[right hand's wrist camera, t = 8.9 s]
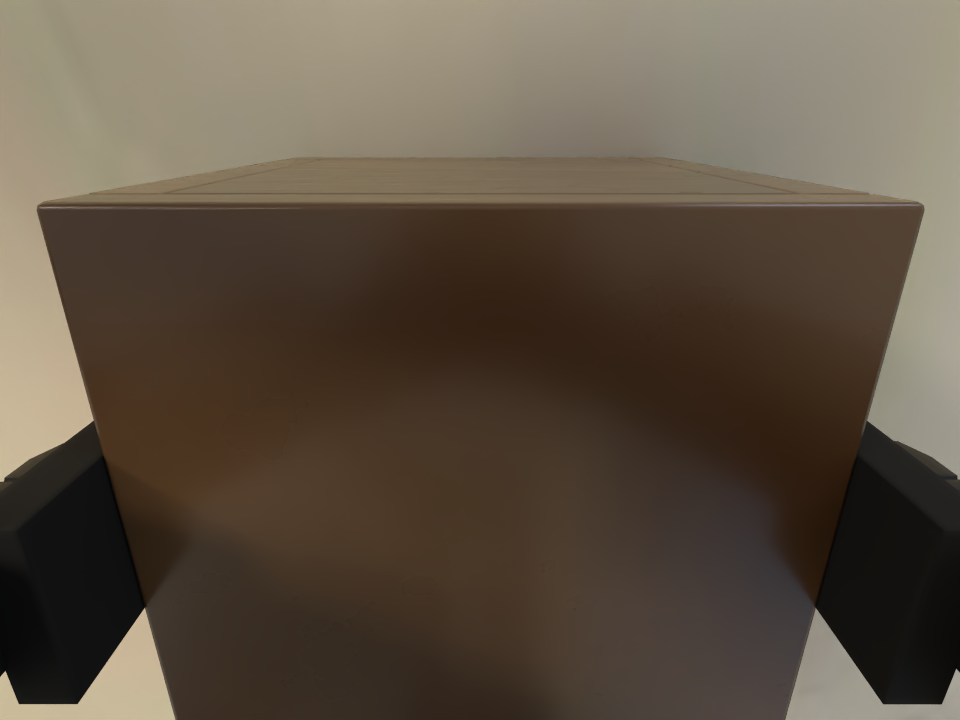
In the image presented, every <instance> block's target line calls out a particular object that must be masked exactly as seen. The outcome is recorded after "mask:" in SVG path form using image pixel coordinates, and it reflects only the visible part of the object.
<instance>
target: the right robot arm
mask: <svg viewBox="0 0 960 720" xmlns="http://www.w3.org/2000/svg"><path fill="white" fill-rule="evenodd" d="M4 479H5V480H4V482H0V676H1V675H2V674H3V673H4V672H5V671H6V673H7V675H8V678H9V680H10V683H11V685H12V688H13V690H14V693H15V695H16V698H17V700H18V703H19V704H78V703H79V701H80V700H81V698H82V697H83V695H84V694H85V693H86V691H87V690H88V688H89V687H90V685H91V684H92V683H93V681H94V680H95V678H96V677H97V675H98V674H99V672H100V671H101V670H102V668H103V667H104V665H105V664H106V662H107V661H108V660H109V658H110V657H111V655H112V654H113V652H114V651H115V650H116V648H117V647H118V645H119V644H120V642H121V641H122V640H123V638H124V637H125V635H126V634H127V632H128V631H129V629H130V628H131V627H132V625H133V624H134V622H135V621H136V619H137V618H138V617H139V615H140V614H141V612H142V611H143V609H144V608H145V606H144V602H143V598H142V595H141V591H140V587H139V584H138V580H137V576H136V573H135V569H134V565H133V562H132V558H131V554H130V551H129V547H128V543H127V540H126V536H125V532H124V529H123V525H122V521H121V518H120V514H119V510H118V507H117V503H116V499H115V496H114V492H113V488H112V485H111V481H110V477H109V474H108V470H107V466H106V463H105V459H104V455H103V452H102V448H101V444H100V441H99V437H98V433H97V430H96V426H95V422H94V421H93V422H92V423H90V424H89V425H88V426H86V427H85V428H84V429H82V430H81V431H80V432H78V433H77V434H76V435H74V436H73V437H72V438H70V439H69V440H68V441H67V442H65V443H63V444H61V445H59V446H57V447H55V448H53V449H51V450H48V451H46V452H44V453H42V454H40V455H38V456H36V457H34V458H31V459H30V460H28V461H27V462H25V463H24V464H23V465H21V466H20V467H19V468H17V469H16V470H15V471H13V472H12V473H11V474H9V475H8V476H7V477H5V478H4ZM816 608H817V610H818V611H819V613H820V614H821V616H822V617H823V618H824V620H825V621H826V623H827V624H828V626H829V627H830V629H831V630H832V631H833V633H834V634H835V636H836V637H837V639H838V640H839V641H840V643H841V644H842V646H843V647H844V649H845V650H846V651H847V653H848V654H849V656H850V657H851V659H852V660H853V662H854V663H855V664H856V666H857V667H858V669H859V670H860V672H861V673H862V674H863V676H864V677H865V679H866V680H867V682H868V683H869V684H870V686H871V687H872V689H873V690H874V692H875V693H876V694H877V696H878V697H879V699H880V700H881V702H882V703H883V704H942V703H943V700H944V698H945V695H946V693H947V690H948V688H949V685H950V683H951V680H952V678H953V675H954V673H955V670H956V669H957V670H958V671H959V672H960V480H958V479H957V475H955V474H954V473H953V472H951V471H950V470H949V469H947V468H946V467H944V466H943V465H942V464H940V463H939V462H938V461H936V460H935V459H934V458H932V457H930V456H928V455H926V454H924V453H922V452H920V451H917V450H915V449H913V448H911V447H909V446H907V445H905V444H903V443H900V442H898V441H893V440H892V439H890V438H889V437H888V436H886V435H885V434H884V433H882V432H881V431H880V430H878V429H877V428H876V427H874V426H873V425H872V424H870V423H869V422H868V421H867V422H866V426H865V429H864V433H863V437H862V440H861V444H860V448H859V451H858V455H857V459H856V462H855V466H854V470H853V473H852V477H851V481H850V484H849V488H848V492H847V495H846V499H845V502H844V506H843V510H842V513H841V517H840V521H839V524H838V528H837V532H836V535H835V539H834V543H833V546H832V550H831V554H830V557H829V561H828V565H827V568H826V572H825V576H824V579H823V583H822V587H821V590H820V594H819V598H818V601H817V605H816Z"/></svg>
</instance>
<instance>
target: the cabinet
mask: <svg viewBox="0 0 960 720" xmlns="http://www.w3.org/2000/svg"><path fill="white" fill-rule="evenodd" d="M37 213H38V217H39V220H40V224H41V228H42V231H43V235H44V239H45V242H46V246H47V250H48V253H49V257H50V261H51V264H52V268H53V272H54V275H55V279H56V283H57V286H58V290H59V294H60V297H61V301H62V305H63V308H64V312H65V316H66V320H67V323H68V327H69V331H70V334H71V338H72V342H73V345H74V349H75V353H76V356H77V360H78V364H79V367H80V371H81V375H82V378H83V382H84V386H85V389H86V393H87V397H88V400H89V404H90V408H91V411H92V415H93V419H94V422H95V426H96V430H97V433H98V437H99V441H100V444H101V448H102V452H103V455H104V459H105V463H106V466H107V470H108V474H109V477H110V481H111V485H112V488H113V492H114V496H115V499H116V503H117V507H118V510H119V514H120V518H121V521H122V525H123V529H124V532H125V536H126V540H127V543H128V547H129V551H130V554H131V558H132V562H133V565H134V569H135V573H136V576H137V580H138V584H139V587H140V591H141V595H142V598H143V602H144V606H145V609H146V613H147V617H148V620H149V624H150V628H151V631H152V635H153V639H154V642H155V646H156V650H157V653H158V657H159V661H160V664H161V668H162V672H163V675H164V679H165V683H166V686H167V690H168V694H169V697H170V701H171V705H172V708H173V712H174V716H175V719H176V720H785V718H786V715H787V711H788V707H789V704H790V700H791V696H792V693H793V689H794V685H795V682H796V678H797V674H798V671H799V667H800V663H801V660H802V656H803V652H804V649H805V645H806V641H807V638H808V634H809V630H810V627H811V623H812V619H813V616H814V612H815V609H816V605H817V601H818V598H819V594H820V590H821V587H822V583H823V579H824V576H825V572H826V568H827V565H828V561H829V557H830V554H831V550H832V546H833V543H834V539H835V535H836V532H837V528H838V524H839V521H840V517H841V513H842V510H843V506H844V502H845V499H846V495H847V492H848V488H849V484H850V481H851V477H852V473H853V470H854V466H855V462H856V459H857V455H858V451H859V448H860V444H861V440H862V437H863V433H864V429H865V426H866V422H867V418H868V415H869V411H870V407H871V404H872V400H873V396H874V393H875V389H876V386H877V382H878V378H879V375H880V371H881V367H882V364H883V360H884V356H885V353H886V349H887V345H888V342H889V338H890V334H891V331H892V327H893V323H894V320H895V316H896V312H897V309H898V305H899V301H900V298H901V294H902V290H903V287H904V283H905V279H906V276H907V272H908V269H909V265H910V261H911V258H912V254H913V250H914V247H915V243H916V239H917V236H918V232H919V228H920V225H921V221H922V217H923V214H924V205H922V204H921V203H919V202H915V201H910V200H904V199H898V198H892V197H887V196H881V195H875V194H869V193H865V192H859V191H853V190H848V189H842V188H836V187H830V186H824V185H819V184H813V183H807V182H801V181H796V180H790V179H784V178H778V177H772V176H767V175H761V174H755V173H749V172H744V171H738V170H732V169H726V168H721V167H715V166H709V165H703V164H697V163H692V162H686V161H680V160H673V159H668V158H292V159H287V160H279V161H273V162H267V163H262V164H256V165H250V166H244V167H238V168H233V169H227V170H221V171H215V172H210V173H204V174H198V175H192V176H187V177H181V178H175V179H169V180H164V181H158V182H152V183H146V184H140V185H135V186H129V187H123V188H117V189H112V190H106V191H100V192H94V193H90V194H86V195H80V196H74V197H68V198H63V199H57V200H51V201H46V202H42V203H40V204H39V205H38V206H37Z"/></svg>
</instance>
